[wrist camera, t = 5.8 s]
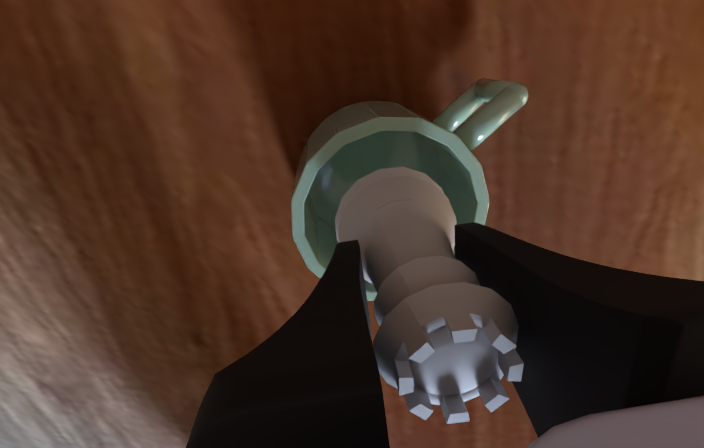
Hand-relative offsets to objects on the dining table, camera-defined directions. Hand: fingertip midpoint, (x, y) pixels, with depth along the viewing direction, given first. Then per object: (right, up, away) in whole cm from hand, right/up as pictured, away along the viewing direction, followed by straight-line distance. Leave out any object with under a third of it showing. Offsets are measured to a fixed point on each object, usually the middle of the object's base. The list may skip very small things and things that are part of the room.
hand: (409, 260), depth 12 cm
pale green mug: (0, +5, +8) cm, 9 cm away
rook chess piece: (0, +1, +3) cm, 3 cm away
